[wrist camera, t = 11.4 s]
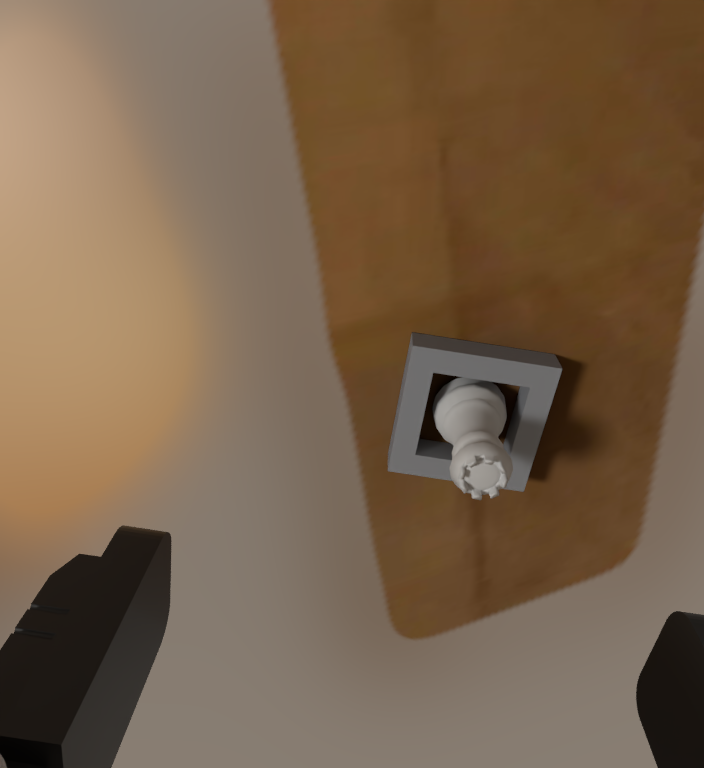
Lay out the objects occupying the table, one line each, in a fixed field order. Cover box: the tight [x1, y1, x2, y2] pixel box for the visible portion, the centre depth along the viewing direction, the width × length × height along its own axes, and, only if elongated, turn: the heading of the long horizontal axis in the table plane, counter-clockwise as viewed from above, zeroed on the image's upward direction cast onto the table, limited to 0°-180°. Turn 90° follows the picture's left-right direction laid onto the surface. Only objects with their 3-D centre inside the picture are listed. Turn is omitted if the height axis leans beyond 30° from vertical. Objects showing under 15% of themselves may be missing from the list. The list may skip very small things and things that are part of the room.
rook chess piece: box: [432, 377, 513, 500], centre depth 37 cm, size 4×4×8 cm
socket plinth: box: [388, 332, 562, 492], centre depth 40 cm, size 8×8×2 cm
